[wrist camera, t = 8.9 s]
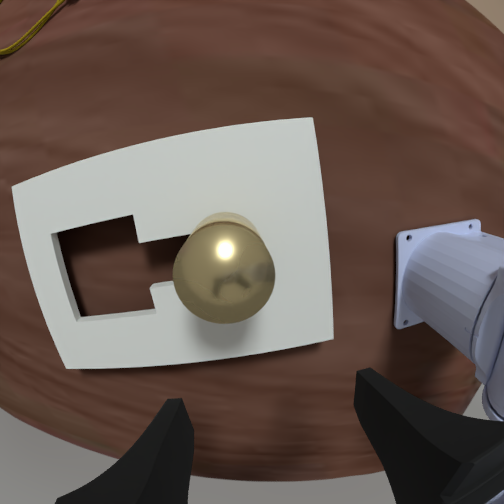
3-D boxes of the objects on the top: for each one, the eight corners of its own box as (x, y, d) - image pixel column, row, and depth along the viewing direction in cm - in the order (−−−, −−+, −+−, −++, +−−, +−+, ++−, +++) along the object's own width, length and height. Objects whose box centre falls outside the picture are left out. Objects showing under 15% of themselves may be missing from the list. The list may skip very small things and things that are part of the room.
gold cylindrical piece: (259, 202, 19) (279, 218, 11) (261, 268, 20) (280, 324, 12) (189, 205, 18) (161, 224, 11) (195, 272, 19) (175, 330, 12)
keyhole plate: (302, 124, 18) (312, 117, 15) (323, 322, 21) (333, 338, 19) (30, 184, 17) (11, 186, 15) (77, 353, 20) (66, 368, 18)
